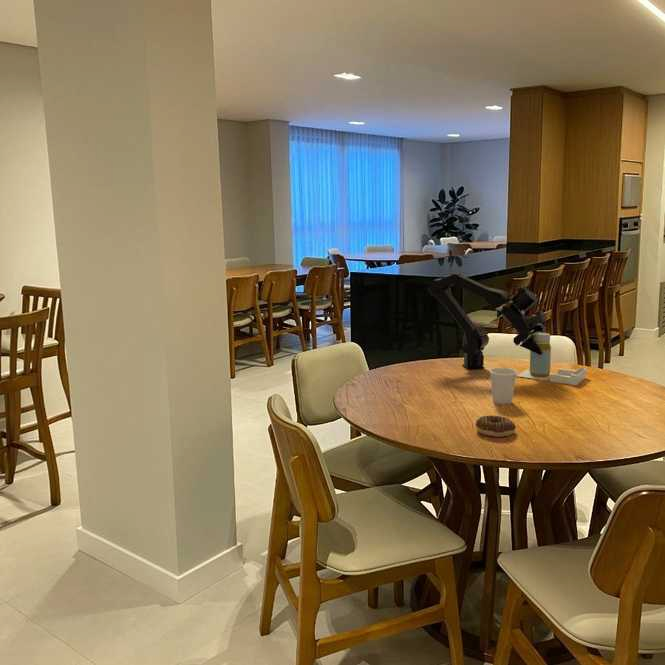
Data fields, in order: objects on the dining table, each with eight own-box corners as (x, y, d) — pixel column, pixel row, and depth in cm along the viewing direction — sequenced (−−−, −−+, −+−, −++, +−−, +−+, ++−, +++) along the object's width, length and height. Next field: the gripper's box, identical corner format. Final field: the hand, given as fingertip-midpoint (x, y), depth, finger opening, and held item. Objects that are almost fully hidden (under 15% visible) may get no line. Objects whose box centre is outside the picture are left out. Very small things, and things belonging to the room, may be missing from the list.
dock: (548, 381, 230) (549, 371, 229) (559, 374, 239) (559, 364, 239) (576, 385, 225) (576, 374, 224) (585, 378, 234) (586, 367, 233)
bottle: (552, 373, 239) (553, 333, 236) (547, 378, 233) (548, 336, 230) (532, 371, 242) (533, 331, 240) (527, 375, 237) (528, 334, 234)
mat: (516, 376, 237) (516, 375, 237) (526, 370, 246) (526, 369, 246) (546, 381, 231) (546, 380, 231) (556, 374, 240) (556, 373, 240)
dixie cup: (519, 405, 203) (520, 374, 201) (491, 405, 203) (492, 374, 201) (512, 397, 211) (513, 367, 209) (486, 398, 211) (487, 367, 209)
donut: (467, 433, 179) (467, 419, 179) (488, 423, 187) (489, 410, 186) (502, 442, 172) (502, 427, 171) (522, 432, 179) (523, 418, 178)
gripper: (523, 308, 228) (554, 342, 223) (541, 301, 243) (570, 334, 238) (500, 328, 234) (530, 362, 229) (519, 320, 249) (547, 352, 244)
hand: (545, 352), depth 235 cm, fingers open, 8 cm apart
